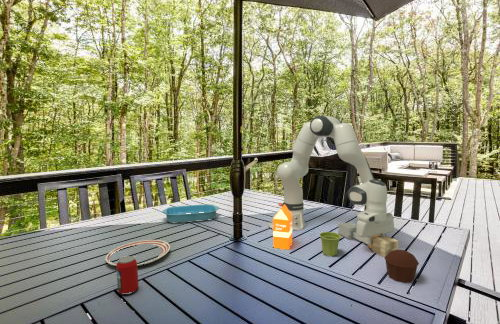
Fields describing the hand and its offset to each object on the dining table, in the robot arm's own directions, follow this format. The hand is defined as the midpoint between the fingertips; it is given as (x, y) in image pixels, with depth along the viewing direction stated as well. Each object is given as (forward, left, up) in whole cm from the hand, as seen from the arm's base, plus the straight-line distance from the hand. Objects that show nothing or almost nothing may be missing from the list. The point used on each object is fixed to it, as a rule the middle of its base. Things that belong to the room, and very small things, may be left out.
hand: (375, 243), depth 132 cm
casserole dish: (-71, +87, -3) cm, 112 cm away
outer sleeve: (0, +18, -3) cm, 18 cm away
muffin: (-12, -24, -3) cm, 27 cm away
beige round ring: (-104, +37, -3) cm, 111 cm away
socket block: (0, -6, -3) cm, 6 cm away
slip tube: (0, +5, -2) cm, 5 cm away
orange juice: (-38, +21, -3) cm, 44 cm away
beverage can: (-108, +8, -3) cm, 108 cm away
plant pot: (-23, +4, -3) cm, 24 cm away
